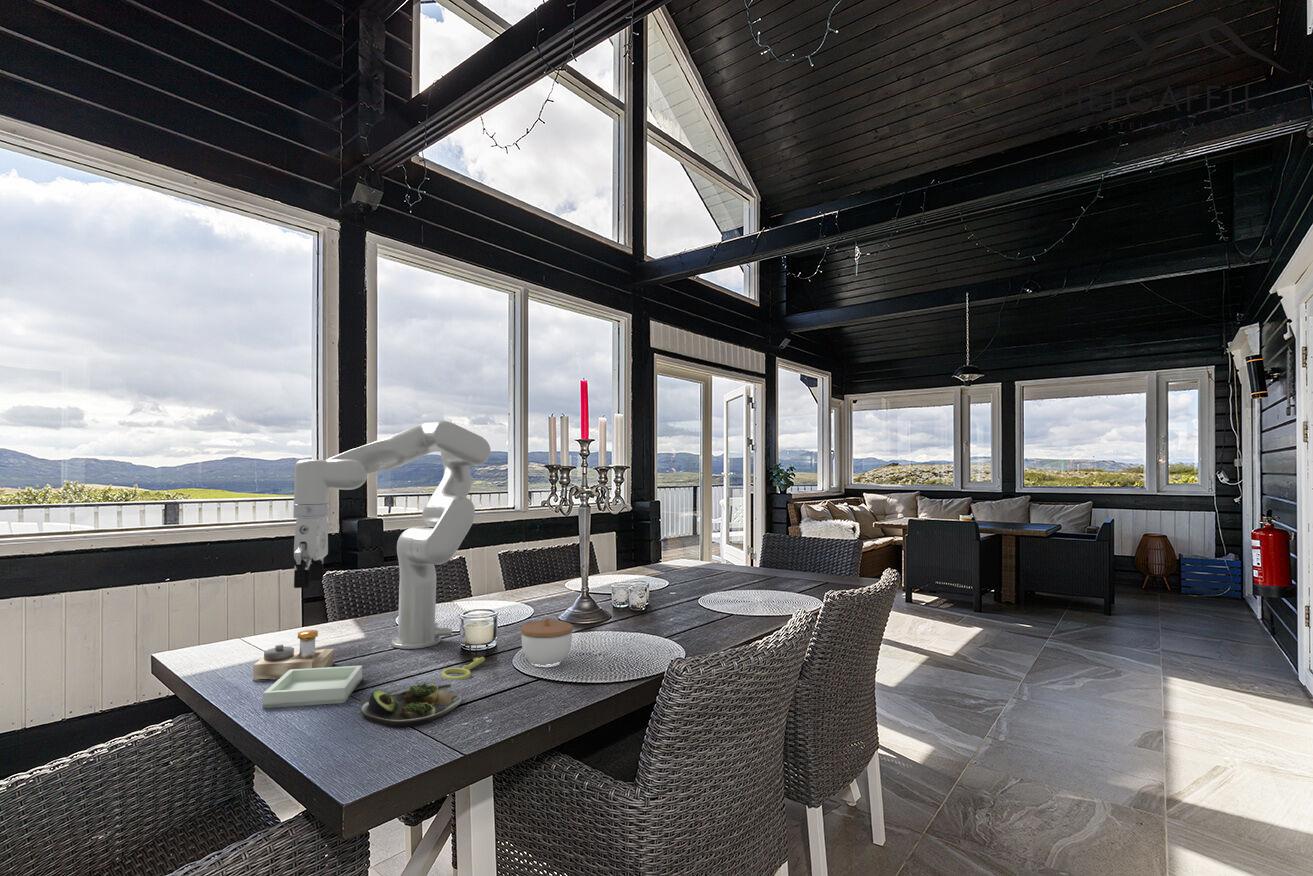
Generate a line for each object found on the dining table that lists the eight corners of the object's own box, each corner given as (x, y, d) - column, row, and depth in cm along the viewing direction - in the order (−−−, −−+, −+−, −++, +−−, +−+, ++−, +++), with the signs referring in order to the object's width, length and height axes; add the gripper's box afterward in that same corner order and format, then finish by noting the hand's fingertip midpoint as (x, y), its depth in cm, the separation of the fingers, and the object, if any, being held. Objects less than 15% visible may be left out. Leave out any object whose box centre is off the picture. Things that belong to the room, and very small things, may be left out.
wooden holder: (333, 663, 154) (334, 637, 154) (321, 676, 144) (321, 649, 144) (269, 666, 151) (270, 640, 151) (252, 680, 141) (254, 652, 141)
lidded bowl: (537, 675, 146) (538, 627, 147) (510, 662, 156) (511, 617, 156) (582, 664, 155) (582, 619, 155) (554, 653, 164) (555, 610, 165)
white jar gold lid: (319, 667, 150) (320, 629, 151) (313, 673, 146) (314, 634, 147) (299, 668, 150) (301, 630, 150) (293, 674, 145) (295, 635, 146)
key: (485, 664, 155) (486, 656, 155) (466, 682, 143) (467, 672, 143) (457, 664, 155) (457, 655, 156) (436, 681, 143) (436, 671, 143)
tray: (361, 678, 143) (362, 665, 143) (344, 702, 128) (344, 687, 128) (289, 683, 139) (289, 669, 140) (262, 708, 125) (263, 693, 125)
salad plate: (423, 686, 139) (424, 665, 139) (483, 701, 131) (484, 678, 131) (343, 716, 122) (344, 692, 122) (407, 735, 114) (407, 709, 114)
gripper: (317, 513, 142) (314, 590, 141) (338, 509, 159) (336, 577, 158) (280, 514, 141) (277, 591, 140) (306, 509, 158) (303, 578, 157)
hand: (308, 583), depth 149 cm, fingers open, 9 cm apart
